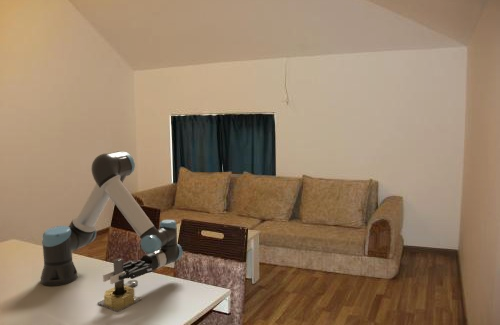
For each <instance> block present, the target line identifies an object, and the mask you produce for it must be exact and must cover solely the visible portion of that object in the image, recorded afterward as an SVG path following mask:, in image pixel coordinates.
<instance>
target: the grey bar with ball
mask: <svg viewBox="0 0 500 325" xmlns="http://www.w3.org/2000/svg"><path fill="white" fill-rule="evenodd" d="M138 282H139V281H138V280H137V279H132V280H128V281H127V282H126V283H125V282H124V286H128V287H131V288H134V287H136V286H138V285H139V284H138Z"/></svg>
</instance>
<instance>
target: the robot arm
mask: <svg viewBox="0 0 500 325" xmlns="http://www.w3.org/2000/svg"><path fill="white" fill-rule="evenodd" d="M134 160H135V159H134V158H133V156H132V155H131V154H129V152H126V151H121V150H120V151H113V152H108V153H106V152H105V153H102V154H99V155H97V156H96V157H95V158H94V160H93V161H92V164H91V174H92V177H93V180H94V181H95V185H94V187H93V188H92V191H91V193H90V194H89V196H88V198H87V200H86V201H85V203H84V205H83V207H82V208H81V211H80V212H79V214H78V215H77V216H74V217H73V218H72V220H71V221H70V223H69V224H68V226H67V225H57V226H54V227H51V228H48V229H47V230H45V231H44V232H43V233H42V240H41V243H42V253H43V255H42V256H43V268H42V270H41V276H40V284H41V285H43V286H46V287H47V286H48V287H54V286H56V287H57V286H62V285H67V284H69V283H73V282H74V281H76V280H77V279H78V270H77V268H76V265H75V264H74V261H73V252H74V251H76V250H77V251H78V250H79V249H81V248H83V247H86V246H89V244H91V243H92V242H93V241H95V239H96V237H97V227H98V226H97V224H96V223H97V222H98V220H99V219H100V216H101V214H102V213H103V211H104V210H105V207H107V204H108V202H109V200H110V199H111V200H112V203H114V205H115V206H116V208H117V209H118V210H119V211H120V213H121V214H122V216H124V218H125V219H126V221H127V222H128V223H129V225H130V226H131V228H132V229H133V230H134V231H135V233H136V234H137V236H138V237H139V238H140V242H139V243H140V248H141V250H142V251H143V252H144V253H145V254H143V255H142V256H141V257H140V259H138V260H136V261H133V259H129V260H128V261H127V262H123V270H124V272H121V273H119V274H116V275H114V270H112V271H108V272H106V273H104V274H102V280H103V282H104V283H105V282H107V281H109V282H110V284H111V285H113V284H115V283H116V282H118V281H121V280H123V279H124V280H125V279H132V280H134V279H135V278H138V277H141V276H144V275H146V274H150V273H152V272H153V271H155V270H157V269H158V270H159V269H160V268H162V267H164V266H166V265H170V264H171V263H174V262H177V261H178V260H180V259H181V258H182V257H183V254H184V253H183V252H184V251H183V248H182V246H181V245H180V244H178V228H177V226H178V225H177V220H175V219H163V220H160V222H159V226H158V227H159V228H158V229H157V228H156V226H155V225H154V224H153V221H152V220H150V217H148V216H147V214H146V213H145V211H144V210H143V208H142V207H141V206H140V205H139V203H138V202H137V200H136V199H135V198H134V197H133V195H132V194H131V192H130V191H129V190H128V188H127V187H126V186H125V185H124V180H125V178H126V177H128V176H130V175H132V174H133V172H134V171H135V168H136V165H135V164H136V163H135V161H134Z"/></svg>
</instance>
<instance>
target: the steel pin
mask: <svg viewBox="0 0 500 325" xmlns="http://www.w3.org/2000/svg"><path fill="white" fill-rule="evenodd" d="M123 264H124V259H123V258H115V259H113V271H114V275H116V274H119V273H121V272H124V270H123ZM124 284H125V279H123V280H121V281H118V282H116V283H114V287H115V295H122V294H125V292H124Z"/></svg>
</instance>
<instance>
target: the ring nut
mask: <svg viewBox="0 0 500 325" xmlns="http://www.w3.org/2000/svg"><path fill="white" fill-rule="evenodd" d="M104 292H105V293H104V294H103V295H104V296H103V298H104V299H102V300H99V301H98V302H97V305H98V306H101V307H104V308H107V309H109V310H111V311H114V312H116V313H118V312H120V311H123V310H125V309H126V308H128V307H131V306H132V305H135V304H136V303H139V302H140V301H143V297H142V298H141V297H139V296H136V294H135V293H136V292H135V288H134V287H128V286H124V292H125V294H122V295H115V286H114V287H112V288H109V289H107V290H105V291H104Z"/></svg>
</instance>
